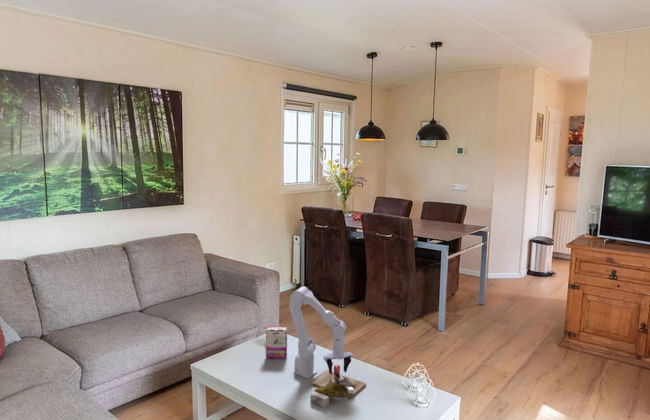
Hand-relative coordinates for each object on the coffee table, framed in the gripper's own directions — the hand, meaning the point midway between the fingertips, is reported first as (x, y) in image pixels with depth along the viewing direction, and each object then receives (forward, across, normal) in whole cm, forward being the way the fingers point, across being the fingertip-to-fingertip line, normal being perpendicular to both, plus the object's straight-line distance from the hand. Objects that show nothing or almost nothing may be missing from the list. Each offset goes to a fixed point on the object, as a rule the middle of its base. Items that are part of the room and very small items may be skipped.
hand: (337, 372), depth 228 cm
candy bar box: (+4, -24, +32) cm, 40 cm away
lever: (+2, 0, -8) cm, 8 cm away
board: (+4, -7, -10) cm, 12 cm away
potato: (+4, -10, -16) cm, 19 cm away
